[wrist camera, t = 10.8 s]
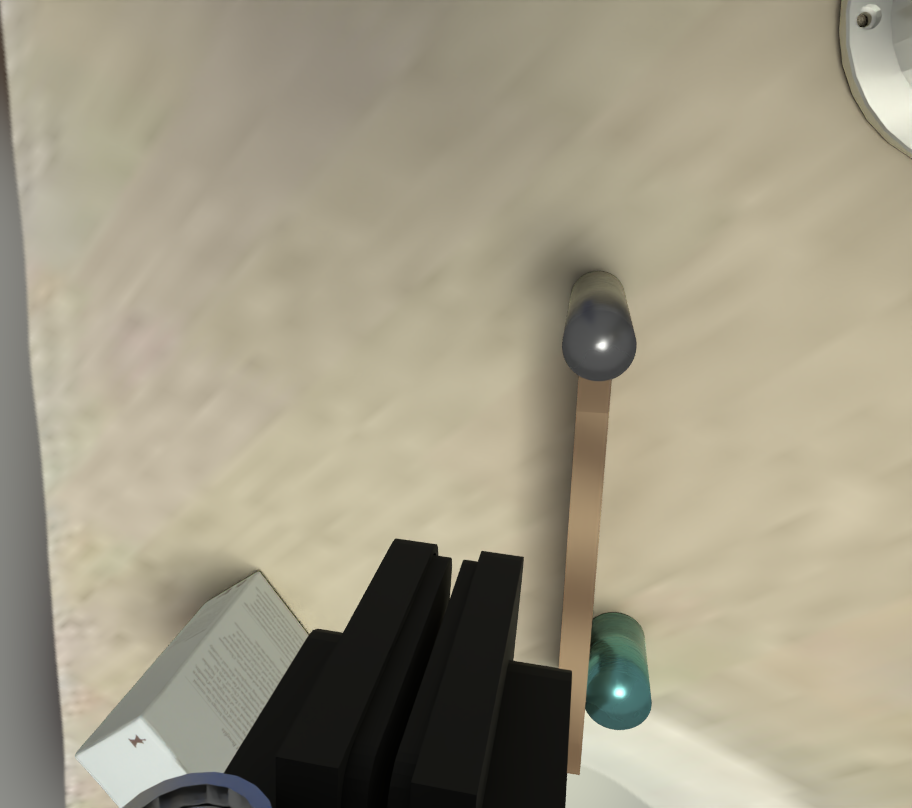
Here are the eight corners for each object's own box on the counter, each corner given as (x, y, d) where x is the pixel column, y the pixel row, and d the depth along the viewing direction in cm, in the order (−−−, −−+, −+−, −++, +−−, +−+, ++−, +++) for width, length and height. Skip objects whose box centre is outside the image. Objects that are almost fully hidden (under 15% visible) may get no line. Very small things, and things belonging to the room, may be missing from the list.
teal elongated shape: (630, 268, 34) (644, 306, 25) (645, 664, 40) (661, 818, 31) (562, 273, 35) (550, 313, 26) (586, 663, 41) (584, 813, 31)
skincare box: (204, 601, 44) (67, 753, 32) (260, 567, 42) (139, 713, 31) (269, 684, 44) (158, 860, 33) (326, 653, 43) (231, 826, 32)
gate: (581, 332, 35) (578, 369, 29) (608, 334, 35) (612, 371, 28) (558, 674, 40) (551, 770, 34) (581, 677, 40) (579, 774, 34)
